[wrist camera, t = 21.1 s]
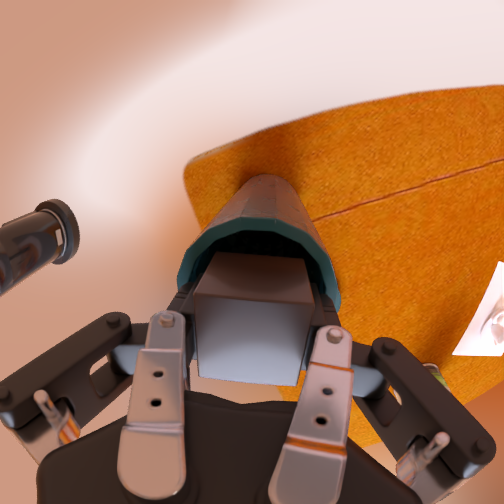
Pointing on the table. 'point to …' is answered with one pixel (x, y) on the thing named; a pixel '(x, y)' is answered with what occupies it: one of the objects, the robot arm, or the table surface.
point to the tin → (263, 232)
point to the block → (253, 318)
